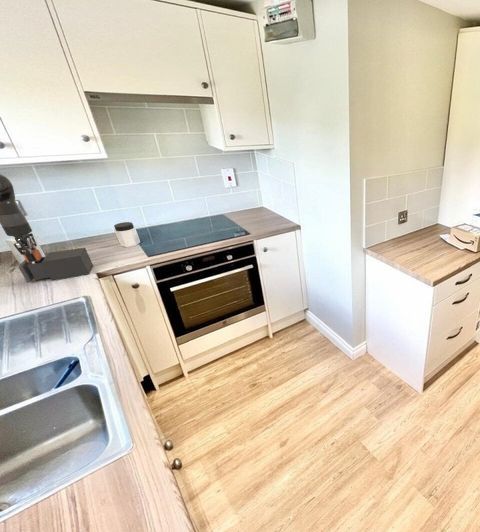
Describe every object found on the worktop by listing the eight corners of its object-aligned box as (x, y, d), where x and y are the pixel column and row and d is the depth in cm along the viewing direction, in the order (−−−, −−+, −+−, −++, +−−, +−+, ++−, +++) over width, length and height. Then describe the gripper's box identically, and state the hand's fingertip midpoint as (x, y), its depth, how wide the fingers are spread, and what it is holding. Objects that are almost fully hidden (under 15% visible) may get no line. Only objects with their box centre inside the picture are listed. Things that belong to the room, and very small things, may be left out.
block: (27, 262, 141) (22, 254, 139) (30, 258, 144) (25, 250, 142) (39, 260, 143) (35, 252, 141) (42, 257, 146) (38, 249, 144)
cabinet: (51, 281, 145) (41, 261, 141) (58, 271, 153) (48, 252, 149) (89, 274, 151) (80, 255, 147) (93, 265, 159) (85, 247, 155)
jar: (134, 247, 180) (127, 226, 174) (118, 247, 178) (110, 227, 173) (143, 240, 188) (135, 221, 182) (127, 241, 186) (119, 221, 181)
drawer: (10, 285, 139) (0, 269, 135) (18, 276, 146) (8, 260, 142) (62, 276, 147) (54, 261, 143) (68, 268, 154) (60, 253, 151)
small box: (39, 257, 165) (26, 233, 159) (47, 259, 164) (34, 235, 158) (18, 263, 159) (4, 239, 153) (27, 265, 157) (13, 241, 151)
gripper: (8, 219, 139) (28, 255, 147) (-6, 229, 128) (16, 267, 136) (32, 216, 142) (50, 251, 150) (20, 226, 132) (41, 263, 140)
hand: (34, 259), depth 143 cm, fingers closed on block, 4 cm apart
